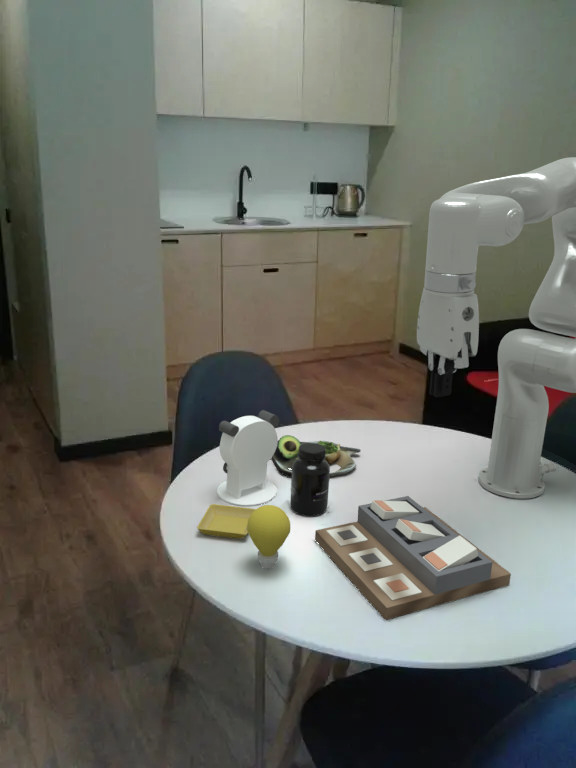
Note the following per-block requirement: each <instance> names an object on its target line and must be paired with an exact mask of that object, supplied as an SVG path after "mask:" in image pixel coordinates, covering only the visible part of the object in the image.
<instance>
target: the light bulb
mask: <svg viewBox="0 0 576 768" xmlns="http://www.w3.org/2000/svg"><path fill="white" fill-rule="evenodd" d="M255 509H256V510H255V511H254V512H253V513H252V514H251V516H250V517H249V519H248V524H247V532H248V533H247V535H248V536H249V537H250V539H251V541H252V543H253V545H254V546H255V547H256V549H257V550H258V551H257V560H258V561H259V563H260V567H261V568H262V569H264V570H265V569H266V570H270V569H271V570H272V569H273V568H275V567H276V563H277V562H278V561H279V550H280V548H282V546H283V544H284V543H285V541H286V540H287V538H288V537H289V535H290V534H291V521H290V517H289V516H288V515H287V513H286V512H285V510H283V509H282V508H281V507H280V506H279V507H278V506H276V505H271V504H265V505H264V504H263V505H260V506H259V507H257V508H255Z"/></svg>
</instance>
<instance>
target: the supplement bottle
mask: <svg viewBox="0 0 576 768" xmlns="http://www.w3.org/2000/svg"><path fill="white" fill-rule="evenodd" d="M330 473H331V465H329V464H328V462H327V461H326V460H325V447H324V446H323V445H320V444H317V443H305V444H302V445H300V446H299V452H298V459H296V460H295V461H294V463H293V465H292V478H291V480H290V481H291V482H290V483H291V484H290V505H289V506H290V509H291V510H292V511H293V512H295V513H296V514H298V515H301V516H304V515H305V517H316V515H317V516H319V515H322V514H324V513H325V512H326V511H327V509H328V503H329V488H330V487H329V486H330V477H329V475H330Z"/></svg>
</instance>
